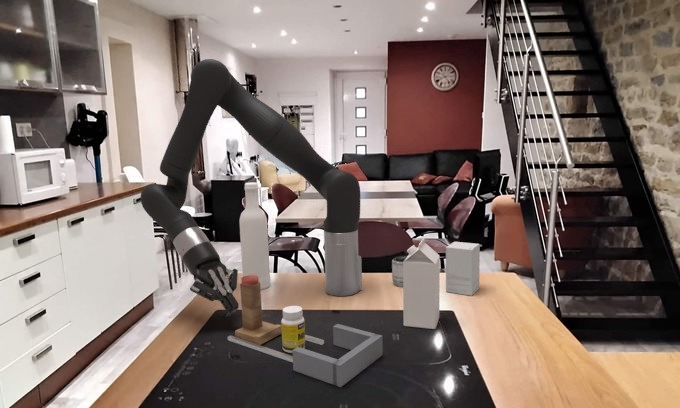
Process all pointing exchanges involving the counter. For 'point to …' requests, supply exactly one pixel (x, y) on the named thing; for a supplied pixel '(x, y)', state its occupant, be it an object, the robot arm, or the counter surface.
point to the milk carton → (421, 287)
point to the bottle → (254, 238)
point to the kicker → (254, 314)
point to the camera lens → (398, 270)
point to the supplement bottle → (293, 328)
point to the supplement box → (462, 268)
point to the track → (271, 351)
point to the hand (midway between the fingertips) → (234, 310)
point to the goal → (346, 367)
